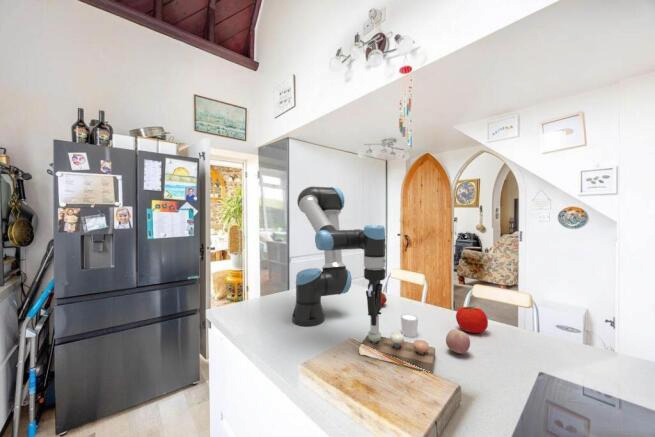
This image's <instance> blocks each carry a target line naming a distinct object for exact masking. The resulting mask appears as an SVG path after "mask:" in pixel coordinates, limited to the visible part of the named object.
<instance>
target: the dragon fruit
mask: <svg viewBox="0 0 655 437" xmlns="http://www.w3.org/2000/svg"><path fill="white" fill-rule="evenodd" d="M387 302H388V300H387V296H386V294H385V293H383V292H382V294H381V307H382V308H384V305H385V304H386V303H387Z"/></svg>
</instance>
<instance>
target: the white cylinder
mask: <svg viewBox="0 0 655 437" xmlns="http://www.w3.org/2000/svg"><path fill="white" fill-rule="evenodd" d="M400 322H401V332H402V334H403V335H404V337H408V338H415V337H417V335H418V325H419V317H418V316H417V315H414V314H409V313H408V314H407V313H406V314H402V315H401V316H400Z"/></svg>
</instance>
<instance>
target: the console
mask: <svg viewBox="0 0 655 437" xmlns="http://www.w3.org/2000/svg"><path fill="white" fill-rule="evenodd" d="M361 343H362V344H364V345H366V346H369V347H371V348H373V349H376V350H378V351H380V352H382V353H385V354H387V355H389V356H392V357H395V358H398V359H400V360H402V361H405V362H407V363H410V364H412V365H415V366H417V367H419V368H422V369H425V370H427V371H430V372H432V373H433V370H434V367H435V366H434V365H435V359H436V347H433V346H429V345H428V351H427V352H424V355H422V354H418V351H416V350H415V349H414V342H410V341H405V340H404V342H403V343H400V349H395V348H394V342H392V341H391V340H390V337H384V336H381V340H380V341H377V344H373V343H372V341H371V340H369V339H368V334H367V335H366V336H365V338H364V339H363V340H362V342H361Z"/></svg>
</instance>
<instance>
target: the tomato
mask: <svg viewBox="0 0 655 437" xmlns="http://www.w3.org/2000/svg"><path fill="white" fill-rule="evenodd" d="M455 320H456V322H457V324H458V326H459V328H460V329H462V330H464V331H466V332H468V333H472V334H478V333H479V334H481V333H483V332H485V331H487V328H488V327H489V322H488V321H489V320H488V317H487V314H486V313H485V312H484V311H483V309H481V308H479V307H476V305H474V306H461V307H460V308H458V309H457V311H456V315H455Z"/></svg>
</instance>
